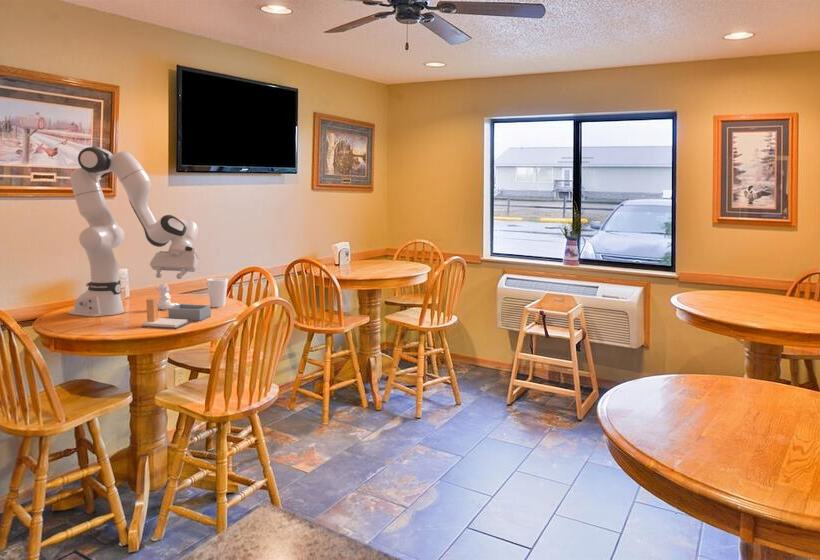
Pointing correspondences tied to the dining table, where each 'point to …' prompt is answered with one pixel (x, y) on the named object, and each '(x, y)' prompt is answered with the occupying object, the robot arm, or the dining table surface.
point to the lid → (155, 321)
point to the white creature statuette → (164, 297)
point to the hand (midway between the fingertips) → (168, 277)
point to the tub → (190, 312)
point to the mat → (168, 327)
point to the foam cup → (217, 291)
